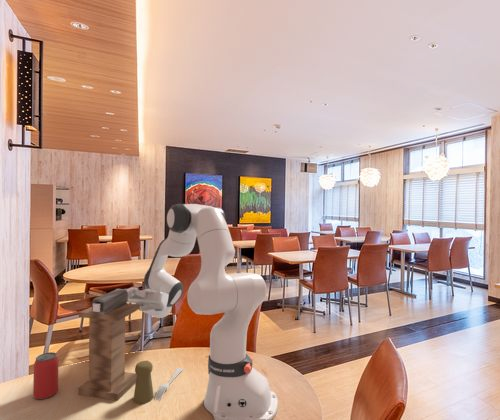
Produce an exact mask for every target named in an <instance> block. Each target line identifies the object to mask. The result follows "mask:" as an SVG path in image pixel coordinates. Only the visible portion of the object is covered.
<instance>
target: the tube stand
mask: <svg viewBox="0 0 500 420" xmlns="http://www.w3.org/2000/svg"><path fill="white" fill-rule="evenodd" d="M116 289H117V290H116ZM116 289H115V290H111V291H110V292H108V293H105V294H102V295H100V296H97V297H95V298H93V299H92V301H91V306H90V307H88V308H86V309H83V310H81V311H79V312H78V317H79V318H85V319H89V322H88V324H89V328H88V330H89V331H88V333H89V335H88V339H89V340H88V380H87V381H86V382H84V383H83V384H82V385H80V386H79V387H77V395H79V396H85V397H93V398H99V399H104V400H105V399H106V400H111V401H119V400H120V399H121V398H122V397H123V396H124V395H125V394H126V393H127V392H128V391H129V390H130V389H131V388H132V387H134V385H136V378H137V375H136V373H135V372H134V373H132V372H127V371H125V370H126V369H125V366H126V365H125V359H126V357H125V355H126V354H125V352H126V348H125V347H126V317H128V316H130V315H132V314H133V313H135V312H137V311H140V310H139V309H140V304H135V303H127V301H128V292H127V290H118V289H119V288H116ZM95 302H103V311H101V312H95V311H93V303H95Z"/></svg>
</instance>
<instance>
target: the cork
mask: <svg viewBox="0 0 500 420" xmlns="http://www.w3.org/2000/svg"><path fill="white" fill-rule="evenodd" d="M153 368H154V366H153V364H152V362H151V361H149V360H142V361H139V362H138V363H136V365H135V368H134V373H135V374H136V375H137V378H136V383H135V384H134V385H135V386H134V391H133V392H134V393H133V399H132V400H133V402H134V403H135V404H138V405H143V404H147V403H149V402H151V401H152V400H154V399H155V396H154V389H153V379H152V371H153Z"/></svg>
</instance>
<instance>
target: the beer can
mask: <svg viewBox="0 0 500 420" xmlns="http://www.w3.org/2000/svg"><path fill="white" fill-rule="evenodd" d="M32 383H33V389H32V390H33V391H32V392H33V393H32V394H33V398H34V399H37V400H45V399H50V398H51V397H53V396H54V395H56V394H57V393H58V391H59V358H58V356H57V353H56V352H54V351H53V352H50V351H49V352H44V353H41V354H38V356H36V357H35V361H34V363H33V382H32Z"/></svg>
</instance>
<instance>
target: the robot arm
mask: <svg viewBox="0 0 500 420" xmlns="http://www.w3.org/2000/svg"><path fill="white" fill-rule="evenodd" d="M226 219H227V218H226V213H225V211H224V210H223V208H221V207H219V206H215V205H207V204H199V203H176V204H172V205H171V206H170V208H169V209H168V210H167V214H166V223H167V227H168V229H169V232H168V236H167V238H164V239H163V240H162V241H161V242H160V243H159V245H158V246H157V249H156V251H155V253H154V256H153V259H152V261H151V263H150V266H149V268H148V269H147V271H146V273H145V275H144V278H143V282H144V283H143V284H144V286H145V287H147V288H145V289H143V290H140V289H139V290H137V289H134V292H133V294H134V296H132V297H130V298H128V301H127V303H129V304H140V309H139V310H138V311H141V312H143V313H145V314H148V315H149V316H151V317H153V318H155V319H156V318H157V319H163V318H165V317H167V316H168V315H170V313H171V312H172V308H173V306H174V305H175V304H177V303H178V302H179V301H180V299H181V297H182V295H183V292H184V286H183V283H182V281H180V280H178V279H177V278H176V277H174V276H173V275H171V274H170V273H169V272H168V271H166V269H165V264H166V262H167V260H168V257H169V256H170V257H174V258H181V257H185V256H187V255H189V254H191V252H192V251H193V249H194V247H195V244H196V241H197V244H198V249H199V254H200V258H201V259H200V261H201V265H200V266H201V267H200V269H199V274H197V276H196V278H195V279H194V280H193V281H192V282H191V283H190V286H189V287H188V290H187V295H186V299H187V304H188V307H189V308H190V309H191V311H192V312H194V313H195V314H196V315H211V316H213V315H217V314H223V313H224V314H223V315H222V318H220V319H219V320H218V321H217V322H216V323H214V325H213V326H212V328H211V329H210V330H211V331H210V334H209V335H210V336H209V337H210V340H209V355H208V360H207V371H208V383H207V387H206V394H205V398H204V399H203V400H204V401H203V405H204V408H205V409H206V410H207V411H208V412H209V413H210V414H212V416H213V418H214V420H273V419H274V417H276V416H275V415H276V414H277V411H278V407H279V406H278V405H279V400H278V396H277V394H276V392H275V391H273V390H271V388H270V383H269V380H268V379H267V377H266V376H264V375H263V374H262V373H260V372H259V371H258V370H256V369H255V368H254V367H253V358H254V357H253V355H251V356H249V355H248V353H247V336H248V329H249V324H250V322H251V320H252V318H253V315H254V314H255V311H257V309H258V307H259V306H260V305H261V304H262V303H263V302H264V301H265V299H266V297H267V291H268V289H267V288H268V287H267V284H266V282H265V280H264V278H263V276H261V275H260V274H259V273H254V272H237V273H229V274H228V273H226V270H225V269H226V267H227V266H228V264H230V263H231V262H233V260H234V258H235V255H236V249H235V246H234V242H233V238H232V236H231V232H230V229H229V227H228V223H227V221H226ZM117 289H118V290H126V289H127V288H124V289H123V288H122V289H121V288H115V290H117Z"/></svg>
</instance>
